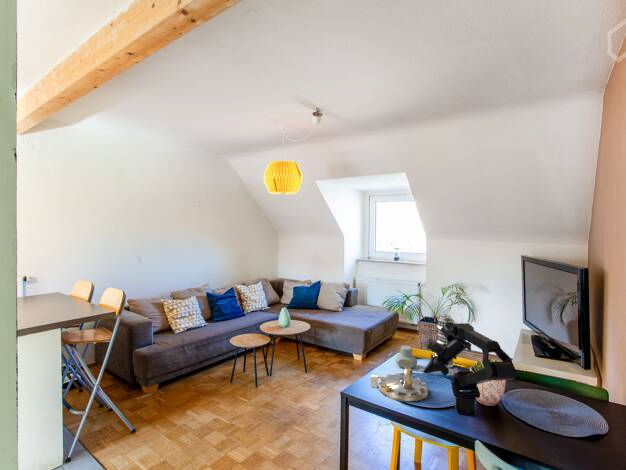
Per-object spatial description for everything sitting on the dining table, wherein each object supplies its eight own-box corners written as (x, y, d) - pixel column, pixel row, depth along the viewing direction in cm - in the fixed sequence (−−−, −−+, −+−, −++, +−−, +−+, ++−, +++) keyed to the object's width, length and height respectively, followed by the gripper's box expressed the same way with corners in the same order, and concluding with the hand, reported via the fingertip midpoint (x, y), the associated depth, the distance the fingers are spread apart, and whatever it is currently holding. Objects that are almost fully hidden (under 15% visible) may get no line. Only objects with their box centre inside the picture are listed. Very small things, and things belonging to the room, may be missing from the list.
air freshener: (417, 365, 181) (418, 346, 181) (416, 371, 173) (416, 351, 173) (396, 362, 185) (396, 343, 185) (394, 367, 177) (394, 348, 177)
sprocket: (425, 379, 159) (425, 359, 159) (426, 399, 140) (427, 376, 140) (382, 374, 164) (382, 354, 164) (378, 392, 146) (379, 370, 146)
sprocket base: (426, 383, 160) (426, 380, 160) (429, 405, 139) (429, 401, 139) (380, 377, 165) (380, 374, 165) (376, 397, 145) (376, 394, 145)
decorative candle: (433, 360, 188) (434, 314, 188) (451, 361, 187) (452, 315, 187) (437, 367, 179) (438, 319, 178) (456, 368, 178) (457, 319, 178)
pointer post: (381, 386, 156) (382, 375, 156) (381, 388, 154) (381, 378, 154) (371, 384, 157) (371, 374, 157) (370, 386, 155) (370, 376, 155)
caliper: (460, 381, 163) (460, 368, 163) (459, 382, 162) (459, 368, 162) (417, 370, 174) (417, 358, 174) (416, 371, 174) (416, 359, 173)
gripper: (436, 327, 152) (410, 350, 155) (440, 340, 134) (410, 365, 137) (455, 347, 150) (428, 369, 153) (461, 363, 132) (430, 387, 135)
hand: (424, 372), depth 145 cm, fingers closed
